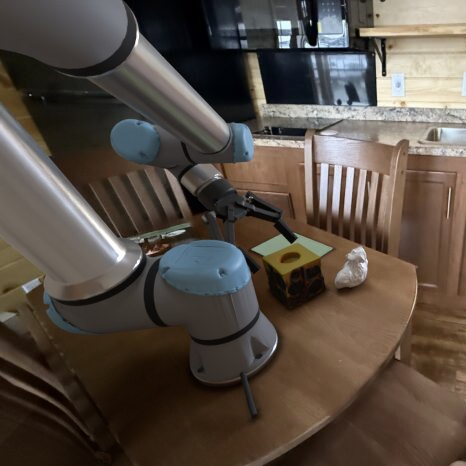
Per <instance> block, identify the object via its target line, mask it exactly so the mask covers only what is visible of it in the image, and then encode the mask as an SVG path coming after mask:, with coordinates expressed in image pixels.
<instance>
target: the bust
mask: <svg viewBox="0 0 466 466" xmlns="http://www.w3.org/2000/svg"><path fill="white" fill-rule="evenodd" d="M344 258H345V259H346V260H347V261H346V262H345V263H344V265H343V266H342V269H341V270H339V271H338V272H337V274H336V276H335V279H334V286H335V288H336V289H339V290H340V289H344V288H354V287H357V286H359V285H361V284H363V282H364V281H365V280H366V278H367V275H368V264H369V260H368V259H367V253H366V251H365V249H364V248H363V246H362V245H361V246H358V247H356V248H353V249H351V252H349V253H347V254H345V256H344Z"/></svg>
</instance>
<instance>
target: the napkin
mask: <svg viewBox="0 0 466 466" xmlns="http://www.w3.org/2000/svg"><path fill="white" fill-rule="evenodd" d="M293 233H294V234H295V235H296V236H297V237H298V239H297V240H296V241H295V242H294V243H292V244H290V243H289V242H288V241H287V239H286V238H285V237H284V236H283V235H282V234H281V233H279V234H278V235H275V236H274V237H272V238H270V239H268V240H266V241H264V242H262V243H260V244H258V245H256V246H254V247H252V248H250V251H252V252H254V253H257V254H258V255H261V256H262V257H264V256H267V255H269V254H271V253H274V252H277V251H279V250H281V249H283V248H286V247H288V246H291V245H293V244H295V243H300V244H301V245H303V246H304V247H305V248H307V249H309V250H310V251H312V252H314V253H315V254H317V255H319V256H320V258H322V257H323V256H324V255H326V254H327V253H330V252H331V251H332V250H333V249H334V247H332V246H329V245H326V244H324V243H322V242H319V241H316V240H314V239H311V238H308V237H306V236H303V235H301V234H298V233H296V232H293Z"/></svg>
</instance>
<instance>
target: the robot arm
mask: <svg viewBox="0 0 466 466" xmlns="http://www.w3.org/2000/svg"><path fill="white" fill-rule="evenodd" d="M139 29H140V28H139V24H138V21H137V18H136V16H135V14H134V12H133V11H132V9H131V8H130V6H129V5H128V4H127V3H126V2H125V1H124V0H0V50H3V51H7V52H8V51H9V52H12V53H18V54H20V55H21V54H22V55H23V56H27V57H31V58H33V59H35V60H37V61H39V62H41V63H43V64H44V65H46V66H47V67H49V68H50V69H52V70H53V71H55V72H58V73H59V74H62V75H65V76H67V77H72V78H77V79H87V80H88V81H90V82H91V83H92V84H95V85H96V86H97V87H99V88H100V89H102V90H103V91H105V92H107V93H108V94H109V95H111V96H112V97H114V98H116V99H117V100H119V101H120V102H122V103H123V104H125V106H128V107H129V108H130V109H132V110H134V111H135V112H136V113H138V114H140V115H142V116H143V117H144V118H146V119H147V120H149V121H150V122H152V123H153V124H151V123H150V122H147V121H144V120H139V119H135V118H128V119H123V120H121V121H119V122H117V123H116V124H115V125H114V127H112V129H111V131H110V145H111V147H112V149H113V150H114V152H115V153H116V154H117V155H118V156H119V157H121V158H123V159H124V160H126V161H129V162H133V163H135V164H137V165H140V166H141V165H144V166H150V167H155V168H159V169H163V170H167V171H168V172H169V173H170V174H172V176H173V177H174V178H175V179H176V180H177V181H179V182H180V184H182V185H183V186H184V187H185V189H187V191H189V192H190V193H191V194H192V196H194V197H197V200H198V202H200V204H202V206H203V207H204V208H206V209H207V211H204V213H203V215H202V216H201V217H200V221H201V222H202V223H203V224H204V226H205V227H206V230H207V232H208V235H209V238H210V239H201V240H200V239H199V240H194V241H190V242H189V243H187V244H185V243H182V244H179V245H176V246H174V247H172V248H170V249H169V250H167V251H166V252H165V253H164V254H163V255H162V256H156V257H155V256H154V257H151V256H148V254H147V253H146V252H145V251H144V250H143V248H142V247H141V245H140V244H139V243H137V241H135V240H134V239H130V238H127V237H118V236H116V234H115V233H114V232H113V231H112V230H111V228H110V227H109V226H108V225H107V224H106V222H105V221H104V220H103V219H102V218H101V216H100V215H99V214H98V213H97V212H96V211H95V209H94V208H93V207H92V205H90V203H89V202H88V201H87V200H86V199H85V198H84V196H83V195H82V194H81V193H80V192H79V191H78V189H76V187H75V186H74V185H73V184H72V182H71V181H70V180H69V179H68V178H67V176H66V175H65V174H64V173H63V171H61V170H60V169H59V167H58V166H57V164H55V163H54V161H53V160H52V159H51V158H50V157H49V155H48V154H47V153H46V152H45V151H44V150H43V148H42V147H41V146H40V145H39V144H38V142H36V140H35V139H34V137H32V136H31V134H30V133H29V132H28V131H27V129H26V128H24V126H23V125H22V124H21V123H20V122H19V120H18V119H17V118H16V117H15V116H14V114H13V113H12V112H11V111H10V110H9V108H8V107H7V106H6V105H5V103H4V102H3V101H2V100H1V99H0V239H1V240H3V241H4V242H5V243H6V244H8V245H9V246H10V247H12V248H13V249H14V250H15V251H16V252H18V253H19V254H20V255H21V256H23V257H24V258H25V259H27V261H29V262H30V263H31V264H32V265H33V266H35V267H36V268H37V269H39V270H40V271H41V272H42V273H44V274H45V277H44V279H43V289H44V290H43V297H42V300H43V304H44V305H48V308H47V309H46V310H45V313H46V314H47V317H48V319H50V321H51V322H52V323H53V324H54V325H55V326H56V327H58V328H59V329H61V330H63V331H65V332H67V333H70V334H76V335H91V336H92V335H93V336H97V335H99V336H101V335H102V336H103V335H110V334H114V333H123V332H131V331H133V332H134V331H142V330H151V329H158V328H159V329H160V328H170V327H179V326H180V327H181V326H184V327H185V329H186V331H187V333H188V336H189V337H190V345H189V367H190V371H191V372H192V375H193V377H194V378H195V380H196V381H197V382H198V383H200V384H202V385H203V386H206V387H209V388H227V387H233V386H236V385H239V384H242V388H243V392H244V395H245V400H246V402H247V406H248V410H249V413H250V417H251V418H252V419H255V418H257V417H258V411H257V408H256V405H255V404H256V403H255V400H254V398H253V394H252V390H251V387H250V384H249V380H250V379H252V378H254V377H255V376H257V375H258V374H259V373H260V372H262V371H263V370H264V369H265V368H266V367H267V366H268V365H269V364H270V362H271V361H272V360H273V359H274V358H275V355H276V354H277V351H278V347H279V337H278V333H277V330H276V328H275V326H274V325H273V323H271V321H270V320H269V319H268V318H267V316H266V315H265V314H264V313H263V312H262V311H261V309H260V306H259V302H258V298H257V295H256V291H255V287H254V284H253V280H252V275H256V274H257V273H258V272H259V271H260V270H261V269H262V266H261V265H260V264H259V263H258V262H256V261H257V260H255V259H254V258H253V257H252V256H251V255H250V254H248V253H247V251H246V250H244V249H243V247H242V246H240V245H239V246H237V247H236V238H235V237H236V236H235V225H234V223H237V222H238V220H241V219H243V218H245V217H252V218H255V219H259V220H262V221H265V222H269V223H272V224H273V228H274V229H275V230H276V231H277V232H278V233H279V234H282V235H283V236H284V237H285V238H286V239H287V241H288V242H289V243H290V244H292V243H294V242H295V241H296V240H297V239H298V237H297V236H296V235H295V234H294V233H295V232H294V231H292V230H291V229H290V228H291V227H290V225H289V224H288V223H287V222H286V221H285V220H284V219H283V217H284V213H285V211H284V210H283V209H282V208H280V207H277V206H275V205H274V204H272V203H269V202H268V201H266V200H264V199H262V198H260V197H259V196H257V195H256V194H255V193H253V191H251V190H247V192H245V194H244V195H241V194H239V193H238V191H237V188H236V187H235V186H234V185H233V184H232V183H231V182H230V181H229V180H228V179H227V178H224V175H223V173H221V172H220V171H219V170H218V169H217V168H216V166H214V165H215V164H233V165H234V164H236V163H237V164H238V163H248V162H250V161H252V160H253V158H254V154H255V145H254V138H253V134H252V132H251V130H250V128H249V127H248V125H246V124H245V123H240V122H239V123H236V122H234V121H233V122H230V123H229V122H228V123H227V122H226V121H225V119H223V117H222V116H220V115H219V114H218V113H217V112H216V111H215V110H214V108H213V107H212V106H211V105H210V104H209V103H208V102H207V101H206V100H205V99H204V98H203V97H202V95H200V94H199V93H198V92H197V90H195V89H194V88H193V86H192V85H190V83H189V82H188V81H187V80H186V79H185V78H184V77H183V76H182V75H181V74H180V73H179V72H178V71H177V70H176V69H175V67H173V66H172V65H171V64H170V62H169V61H167V59H166V58H165V57H164V56H162V54H161V53H160V52H159V51H158V50H157V49H156V48H155V47H154V46H153V44H152V43H150V42H149V41H148V39H146V37H145V36H144V35H143V34H142V33H141V32H140V30H139ZM213 164H214V165H213ZM217 219H219V220H221V224H222V228H223V234H222V232H221V229H220V226H219V224H218V221H217Z"/></svg>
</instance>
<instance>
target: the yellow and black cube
mask: <svg viewBox="0 0 466 466" xmlns="http://www.w3.org/2000/svg"><path fill="white" fill-rule="evenodd" d="M261 260H262V264H263V268H264V271H265V274H266V278H267V284H268V287H269V289H270V291H271V292H272V293H273V295H274V296H275V297H277V298H278V300H280V301H281V302H282V303H283V304H284V305H285V306H287V308H288V309H293V308H295V307H296V306H298V305H300V304H303V303H304V302H306V301H308V300H310V299H311V298H313V297H314V296H315V295H317V294H319V293H321V292H324V291H325V290H327V287H326V282H325V276H324V274H323V272H322V257H320V256H319V255H317V254H315V253H314V252H312V251H310V250H309V249H307V248H305V247H304V246H303V245H301V244H300V243H295V244H293V245H291V246H288V247H286V248H283V249H281V250H279V251H277V252H274V253H271V254H269V255H267V256H262V258H261Z"/></svg>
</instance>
